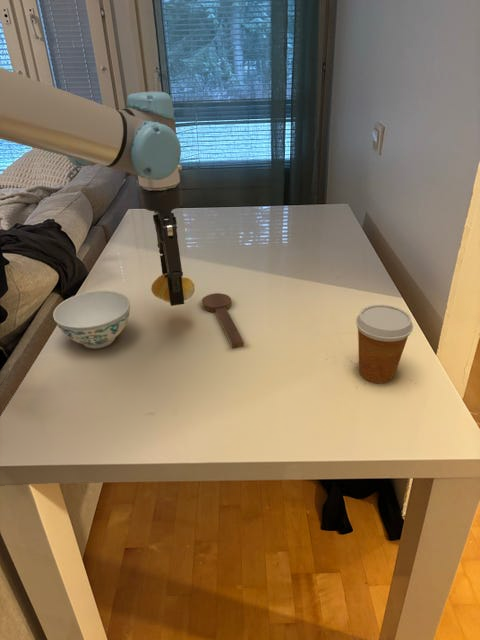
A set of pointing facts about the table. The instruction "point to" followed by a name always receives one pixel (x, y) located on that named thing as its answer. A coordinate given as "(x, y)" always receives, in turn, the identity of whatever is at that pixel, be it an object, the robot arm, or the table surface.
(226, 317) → the wooden spoon
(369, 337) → the disposable coffee cup
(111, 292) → the chinaware
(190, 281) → the bread roll
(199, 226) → the table surface
